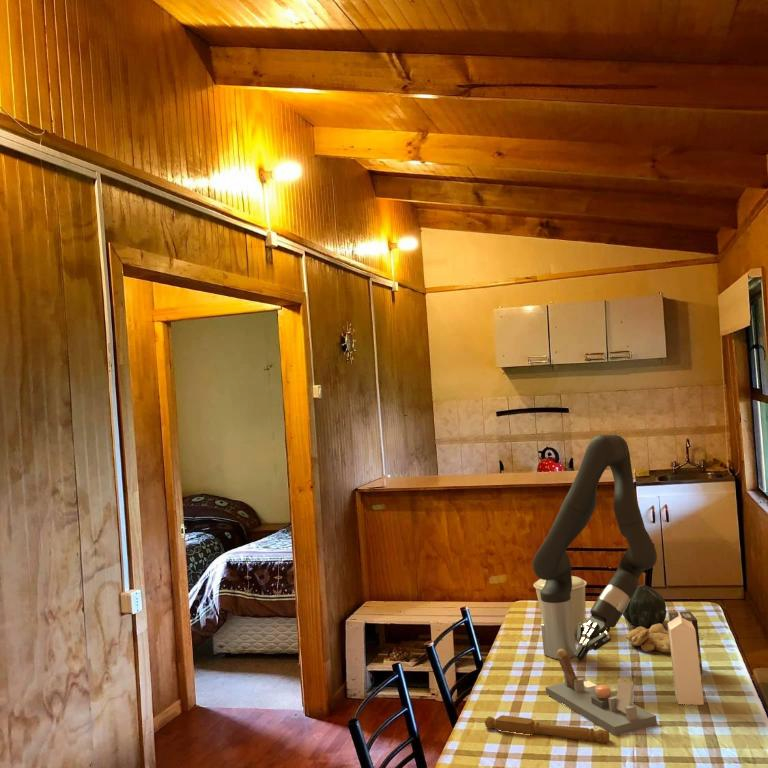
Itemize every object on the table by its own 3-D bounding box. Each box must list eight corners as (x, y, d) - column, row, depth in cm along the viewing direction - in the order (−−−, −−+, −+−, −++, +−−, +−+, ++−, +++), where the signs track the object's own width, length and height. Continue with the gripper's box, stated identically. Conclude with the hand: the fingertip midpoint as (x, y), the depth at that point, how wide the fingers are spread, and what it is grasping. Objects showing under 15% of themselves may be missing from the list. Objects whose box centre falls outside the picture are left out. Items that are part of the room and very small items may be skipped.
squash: (638, 599, 264) (621, 574, 258) (678, 606, 253) (662, 580, 246) (625, 633, 257) (607, 608, 250) (666, 642, 246) (649, 616, 239)
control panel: (583, 685, 203) (581, 666, 204) (656, 724, 175) (654, 702, 175) (546, 694, 199) (544, 675, 199) (615, 735, 171) (612, 714, 171)
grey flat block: (618, 707, 180) (621, 678, 181) (631, 714, 175) (634, 684, 176) (615, 707, 180) (618, 678, 181) (628, 714, 175) (631, 684, 176)
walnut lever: (574, 681, 198) (560, 645, 198) (581, 684, 196) (566, 648, 195) (567, 685, 198) (553, 650, 197) (573, 689, 195) (559, 653, 194)
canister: (550, 621, 266) (544, 563, 267) (599, 626, 255) (592, 565, 256) (529, 636, 251) (523, 574, 252) (580, 641, 240) (573, 577, 241)
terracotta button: (605, 691, 187) (604, 683, 187) (613, 696, 183) (612, 688, 184) (593, 694, 186) (592, 686, 186) (601, 699, 182) (600, 691, 182)
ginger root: (626, 634, 239) (629, 611, 238) (677, 648, 232) (681, 624, 232) (618, 652, 225) (622, 627, 224) (673, 667, 218) (677, 642, 218)
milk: (678, 705, 185) (668, 617, 186) (675, 695, 191) (665, 610, 192) (704, 705, 183) (693, 616, 184) (700, 695, 189) (690, 609, 190)
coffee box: (704, 679, 199) (697, 619, 200) (679, 680, 201) (673, 620, 201) (697, 667, 208) (690, 610, 209) (673, 668, 210) (667, 611, 210)
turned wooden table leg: (606, 733, 167) (482, 718, 181) (607, 746, 167) (483, 731, 181) (608, 727, 170) (486, 713, 184) (610, 740, 170) (488, 725, 183)
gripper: (587, 592, 208) (554, 644, 203) (616, 602, 195) (581, 657, 191) (605, 608, 209) (572, 660, 205) (634, 619, 197) (601, 674, 192)
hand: (577, 659), depth 198 cm, fingers closed
